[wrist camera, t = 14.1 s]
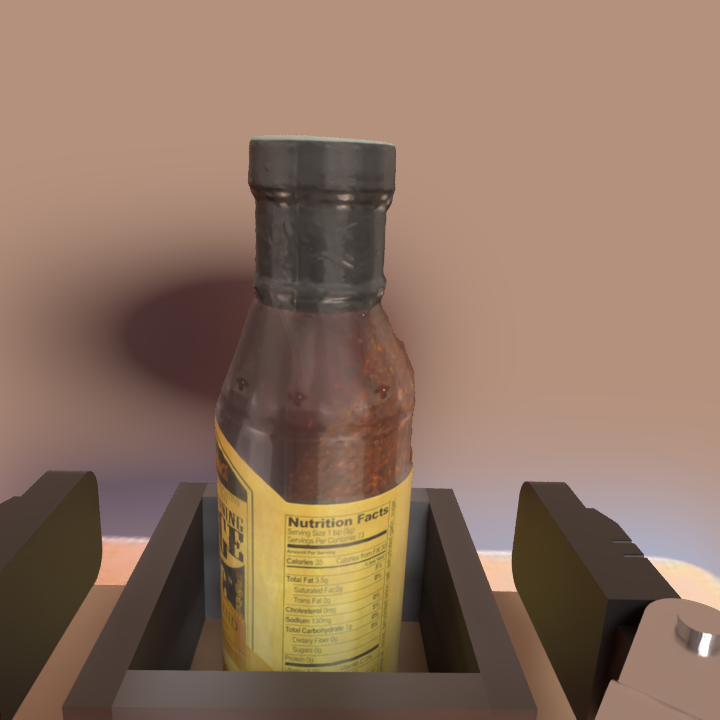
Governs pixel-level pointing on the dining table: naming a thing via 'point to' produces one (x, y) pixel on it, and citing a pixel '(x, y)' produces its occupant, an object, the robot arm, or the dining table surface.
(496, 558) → the dining table surface
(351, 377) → the sauce bottle
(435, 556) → the bottle caddy
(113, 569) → the dining table surface
